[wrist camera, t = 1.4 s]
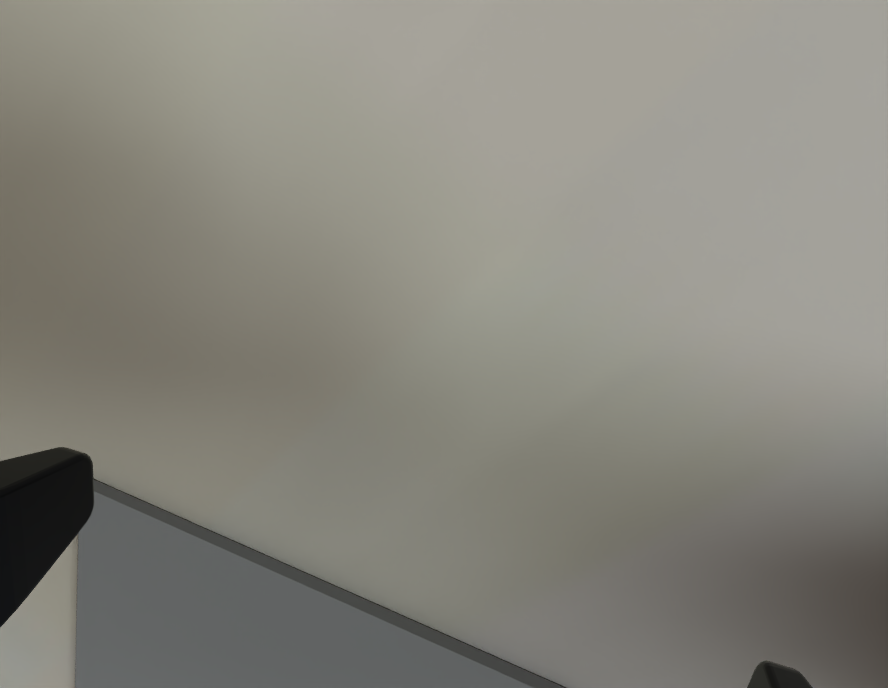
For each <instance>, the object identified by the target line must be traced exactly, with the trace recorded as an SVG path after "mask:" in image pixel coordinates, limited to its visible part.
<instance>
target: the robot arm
mask: <svg viewBox="0 0 888 688" xmlns="http://www.w3.org/2000/svg"><path fill="white" fill-rule="evenodd" d="M93 507H94V483H93V463H92V460H91V458H90V457H89V456H88V455H87V454H85V453H82V452H79V451H75V450H72V449H69V448H64V447H58V448H54V449H49V450H45V451H41V452H37V453H33V454H28V455H24V456H20V457H16V458H12V459H7V460H3V461H0V627H1V626H2V625H3V624H4V623H5V622H6V621H7V620H8V618H9V617H10V616H11V615H12V614H13V613H14V612H15V611H16V610H17V608H18V607H19V606H20V605H21V604H22V602H23V601H24V600H25V599H26V598H27V597H28V595H29V594H30V593H31V592H32V590H33V589H34V588H35V587H36V585H37V584H38V583H39V582H40V580H41V579H42V578H43V577H44V575H45V574H46V573H47V572H48V570H49V569H50V568H51V567H52V565H53V564H54V563H55V561H56V560H57V559H58V558H59V556H60V555H61V554H62V553H63V551H64V550H65V549H66V548H67V546H68V545H69V544H70V543H71V541H72V540H73V539H74V538H75V536H76V535H77V534H78V533H79V531H80V530H81V529H82V528H83V526H84V525H85V524H86V522H87V521H88V519H89V518H90V516H91V514H92V511H93ZM747 688H813V687H812V686H811V685H810V684H809V682H808V681H807V680H806V679H805V677H804V676H803V675H802V674H801V673H800V672H799V671H797V670H795V669H793V668H789V667H786V666H783V665H780V664H776V663H773V662H770V661H763V662H760V664H759V665H758V666H757V667H756V669H755V671H754V673H753V675H752V678H751V680H750V682H749V685H748V687H747Z"/></svg>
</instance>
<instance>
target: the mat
mask: <svg viewBox="0 0 888 688" xmlns="http://www.w3.org/2000/svg"><path fill="white" fill-rule="evenodd" d="M93 483H94V507H93V511H92V514H91V516H90V518H89V519H88V521H87V522H86V524H85V525H84V526H83V528H82V529H81V530H80V531H79V533H78V574H77V621H76V669H75V688H564V687H562V686H560V685H557V684H555V683H553V682H551V681H548V680H546V679H544V678H542V677H539V676H537V675H535V674H533V673H530V672H528V671H526V670H524V669H521V668H519V667H517V666H515V665H512V664H510V663H508V662H505V661H503V660H501V659H499V658H496V657H494V656H492V655H490V654H487V653H485V652H483V651H481V650H478V649H476V648H474V647H472V646H469V645H467V644H465V643H463V642H460V641H458V640H456V639H453V638H451V637H449V636H447V635H444V634H442V633H440V632H438V631H435V630H433V629H431V628H429V627H426V626H424V625H422V624H420V623H417V622H415V621H413V620H411V619H408V618H406V617H404V616H401V615H399V614H397V613H395V612H392V611H390V610H388V609H386V608H383V607H381V606H379V605H377V604H374V603H372V602H370V601H368V600H365V599H363V598H361V597H359V596H356V595H354V594H352V593H349V592H347V591H345V590H343V589H340V588H338V587H336V586H334V585H331V584H329V583H327V582H325V581H322V580H320V579H318V578H316V577H313V576H311V575H309V574H307V573H304V572H302V571H300V570H297V569H295V568H293V567H291V566H288V565H286V564H284V563H282V562H279V561H277V560H275V559H273V558H270V557H268V556H266V555H264V554H261V553H259V552H257V551H255V550H252V549H250V548H248V547H245V546H243V545H241V544H239V543H236V542H234V541H232V540H230V539H227V538H225V537H223V536H221V535H218V534H216V533H214V532H212V531H209V530H207V529H205V528H203V527H200V526H198V525H196V524H193V523H191V522H189V521H187V520H184V519H182V518H180V517H178V516H175V515H173V514H171V513H169V512H166V511H164V510H162V509H160V508H157V507H155V506H153V505H151V504H148V503H146V502H144V501H141V500H139V499H137V498H135V497H132V496H130V495H128V494H126V493H123V492H121V491H119V490H117V489H114V488H112V487H110V486H108V485H105V484H103V483H101V482H99V481H96V480H94V479H93Z"/></svg>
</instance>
